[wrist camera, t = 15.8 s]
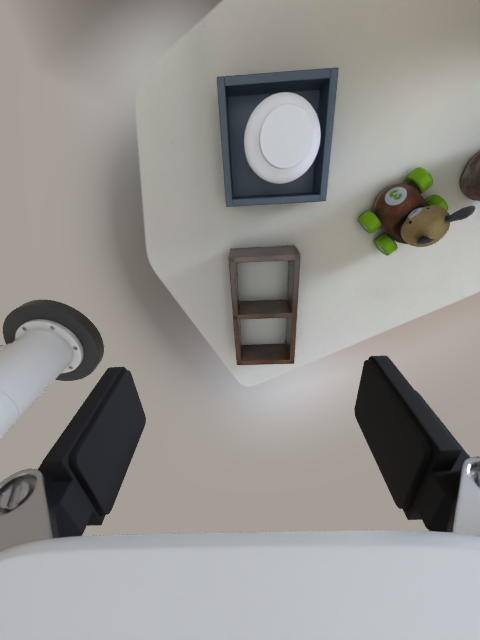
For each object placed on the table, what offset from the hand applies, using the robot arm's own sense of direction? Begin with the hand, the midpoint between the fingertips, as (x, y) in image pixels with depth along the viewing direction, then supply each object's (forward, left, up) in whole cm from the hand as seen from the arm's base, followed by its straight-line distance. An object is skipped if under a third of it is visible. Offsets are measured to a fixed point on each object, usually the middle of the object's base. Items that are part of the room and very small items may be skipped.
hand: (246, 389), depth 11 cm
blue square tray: (+4, +10, -34) cm, 35 cm away
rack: (+2, -12, -34) cm, 36 cm away
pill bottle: (+4, +10, -33) cm, 35 cm away
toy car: (+22, +1, -34) cm, 40 cm away
